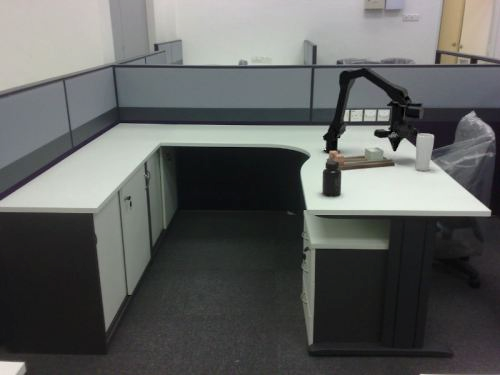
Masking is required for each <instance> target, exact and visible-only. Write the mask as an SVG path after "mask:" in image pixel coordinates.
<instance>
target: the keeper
mask: <svg viewBox="0 0 500 375" xmlns="http://www.w3.org/2000/svg"><path fill="white" fill-rule="evenodd" d="M384 152H385V151H384V150H383V149H382V148H379V147H366V148H364V155H365V159H367V160H369V161H370V160H382V159H383V156H384V154H385V153H384Z"/></svg>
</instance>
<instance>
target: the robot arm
mask: <svg viewBox="0 0 500 375" xmlns="http://www.w3.org/2000/svg"><path fill="white" fill-rule="evenodd" d="M359 78H364V79H366V80H368V82H371V83H372V84H373V85H375V86H377V87H378V88H380V89H381V90H382V91H384V93H386V96H388V97H389V99H390V102H389V103H387V104H386V106H387V107H390V108H391V110H390V111H391V112H390V118H388V121H389V127H388V130H387V129H384V128H381V129H380V128H379V129H378V128H377V129H375V130H374V131H373V136H374V137H376V138H379V139H388V141H389V143H390V146H391V149H392V151H393V152H397V149H398V148H399V146H400V144H401V142H402V141H403V140H404V139H406V138H409V137H410V135H411V136H412V137H413V136H414V137H417V135H418V134H419V130H418V128H415V125H414V124H407V121H406V119H405V117H406V118H407V119H414V120H415V119H417V120H422V119H423V116H424V112H425V110H424V105H423V104H424V103H423V102H413V101H412V99H411V98H410V96H409V92H408V89H407V88H406V87H404V86H401V85H398V84H395V83H392V82H390V81H389V80H387V79H386V78H385V77H383V76H382V75H380V74H378V73H377V72H376V71H374V70H372V69H371V68H370V67H369V66H365V67H362V68H358V69H356V70H355V69H351V68H350V69H346V70H342V71H341V72H340V73H339V77H338V85H339V93H338V98H337V102H336V107H335V111H334V116H333V119H332V121H331V123H330V124H329V125H328V126H329V127H328V129H327V132H326V133H324V135H323V136H322V138H323V139H322V140H323V141H325V149H326V150H325V151H326V152H327V153H326V152H325V151H324V152H325V153H326V154H329V151H337V152H341V151H340V150H338V145H339V144H338V143H339V139H340V138H341V136H342V135H344V133H345V132H346V129H347V126H348V123H347V122H345V120H344V119H345V115H346V110H347V106H348V102H349V97H350V92H351V89H352V88H353V86H354V84H355V82H356V80H357V79H359Z"/></svg>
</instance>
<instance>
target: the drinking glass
mask: <svg viewBox="0 0 500 375" xmlns="http://www.w3.org/2000/svg"><path fill="white" fill-rule="evenodd" d="M415 141H416V144H415V169H416V171H420V172H426V171H429V168H430V165H431V164H430V163H431V158H432V154H433V149H434V143H435V142H434V141H435V135H434V134H431V133H418V135H417V136H416V140H415Z"/></svg>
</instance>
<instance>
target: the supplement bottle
mask: <svg viewBox="0 0 500 375" xmlns="http://www.w3.org/2000/svg"><path fill="white" fill-rule="evenodd" d="M324 166H325V168H324V169H323V171H322V184H321V185H322V186H321V187H322V189H321V190H322V194H323V195H324V196H326V197H338V196H340V194H342V170H340V169H338V168H339V162H337V161H327V160H326V162H325V165H324Z"/></svg>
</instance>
